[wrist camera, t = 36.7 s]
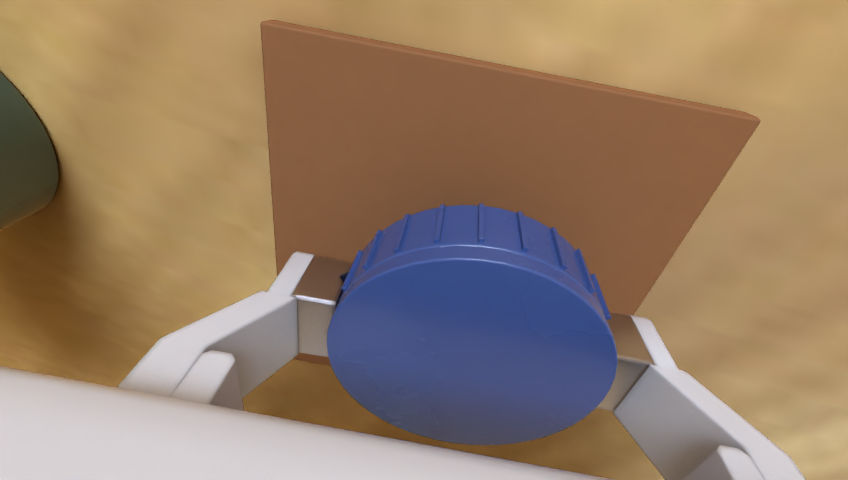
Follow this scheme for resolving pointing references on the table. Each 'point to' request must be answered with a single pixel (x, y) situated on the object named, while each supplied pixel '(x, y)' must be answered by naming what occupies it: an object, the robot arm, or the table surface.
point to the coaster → (482, 153)
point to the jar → (23, 158)
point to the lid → (473, 328)
